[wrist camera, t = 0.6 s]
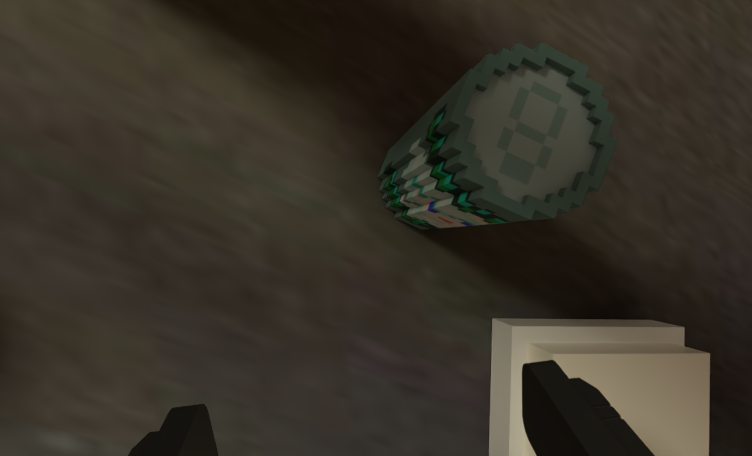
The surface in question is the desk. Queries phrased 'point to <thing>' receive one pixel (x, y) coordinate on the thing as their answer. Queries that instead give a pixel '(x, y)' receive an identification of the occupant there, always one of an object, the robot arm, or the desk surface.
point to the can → (503, 144)
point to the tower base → (515, 361)
